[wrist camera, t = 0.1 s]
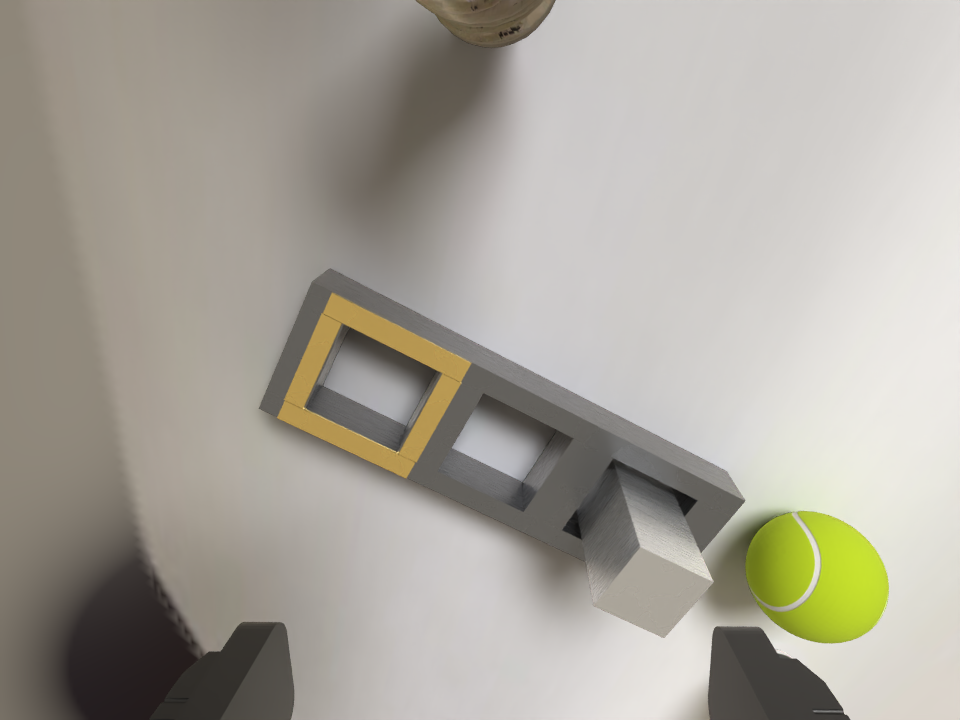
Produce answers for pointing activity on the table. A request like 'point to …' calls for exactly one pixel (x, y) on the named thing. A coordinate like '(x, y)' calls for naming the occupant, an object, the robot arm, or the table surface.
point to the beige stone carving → (490, 19)
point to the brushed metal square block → (640, 550)
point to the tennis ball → (817, 577)
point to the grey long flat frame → (448, 405)
